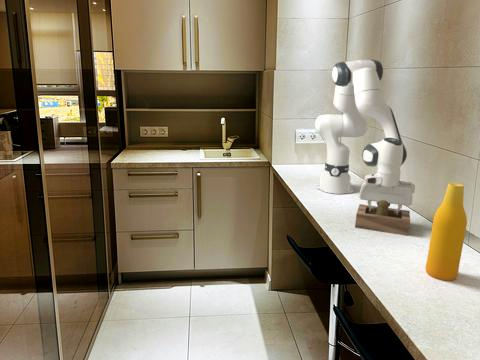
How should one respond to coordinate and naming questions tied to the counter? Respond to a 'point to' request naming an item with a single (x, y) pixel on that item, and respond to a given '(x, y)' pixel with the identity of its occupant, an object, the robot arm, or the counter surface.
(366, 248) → the counter surface
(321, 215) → the counter surface
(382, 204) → the cork
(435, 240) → the beer bottle
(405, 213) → the well block
